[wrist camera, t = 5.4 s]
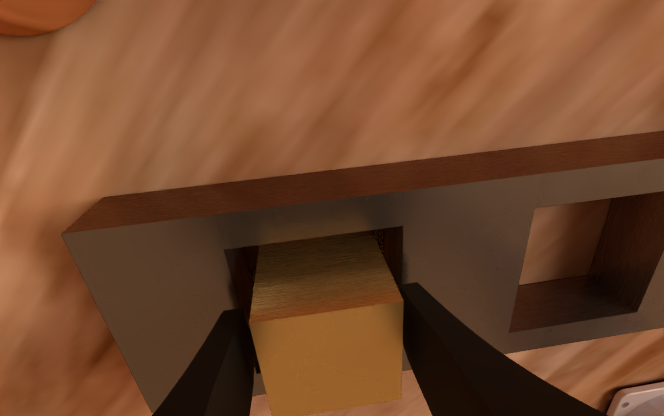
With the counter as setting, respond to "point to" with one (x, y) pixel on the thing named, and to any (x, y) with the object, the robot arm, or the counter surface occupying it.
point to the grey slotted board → (399, 247)
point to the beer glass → (39, 15)
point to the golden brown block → (326, 324)
